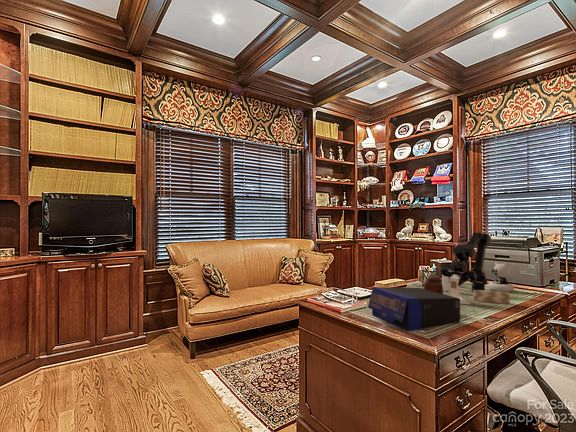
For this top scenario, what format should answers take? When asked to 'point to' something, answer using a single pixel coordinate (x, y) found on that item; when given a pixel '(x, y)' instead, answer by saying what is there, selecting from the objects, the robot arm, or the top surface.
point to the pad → (463, 301)
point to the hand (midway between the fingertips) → (454, 285)
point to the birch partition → (492, 296)
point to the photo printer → (446, 283)
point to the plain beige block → (454, 286)
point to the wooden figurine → (434, 284)
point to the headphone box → (414, 307)
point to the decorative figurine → (501, 279)
